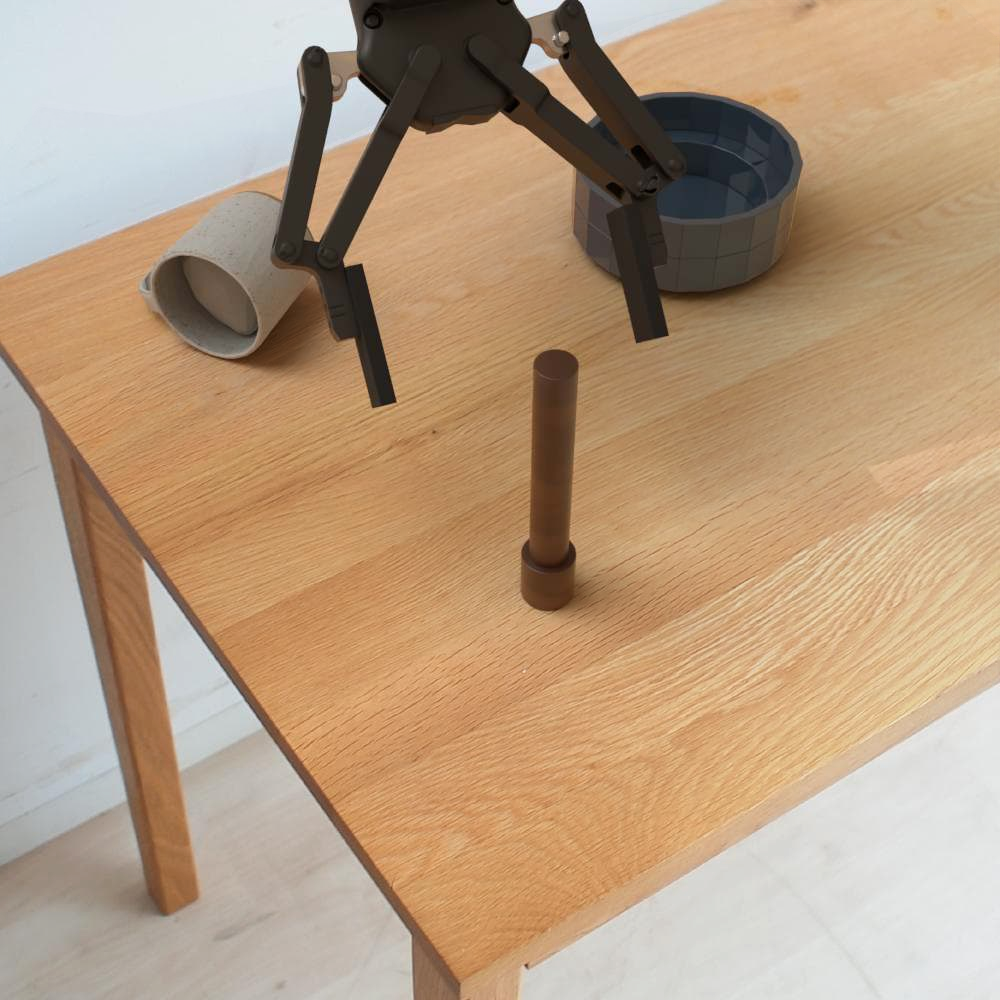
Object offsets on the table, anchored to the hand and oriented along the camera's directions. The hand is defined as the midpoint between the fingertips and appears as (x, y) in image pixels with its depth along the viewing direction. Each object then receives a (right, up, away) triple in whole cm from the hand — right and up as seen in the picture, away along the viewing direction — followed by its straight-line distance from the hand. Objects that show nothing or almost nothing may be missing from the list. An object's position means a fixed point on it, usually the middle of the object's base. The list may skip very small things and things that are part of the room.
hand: (521, 373), depth 69 cm
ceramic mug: (-18, +5, +21) cm, 28 cm away
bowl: (+11, +12, +26) cm, 31 cm away
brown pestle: (+1, -11, +7) cm, 13 cm away
